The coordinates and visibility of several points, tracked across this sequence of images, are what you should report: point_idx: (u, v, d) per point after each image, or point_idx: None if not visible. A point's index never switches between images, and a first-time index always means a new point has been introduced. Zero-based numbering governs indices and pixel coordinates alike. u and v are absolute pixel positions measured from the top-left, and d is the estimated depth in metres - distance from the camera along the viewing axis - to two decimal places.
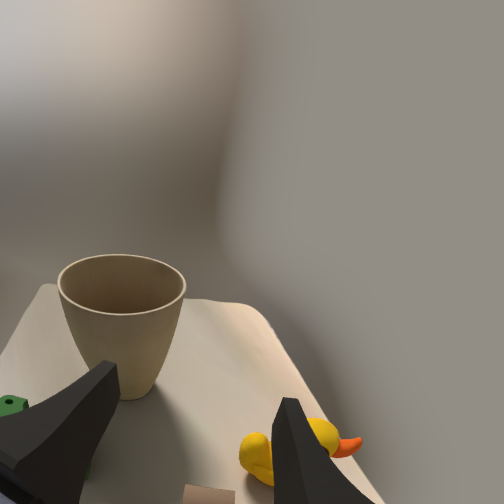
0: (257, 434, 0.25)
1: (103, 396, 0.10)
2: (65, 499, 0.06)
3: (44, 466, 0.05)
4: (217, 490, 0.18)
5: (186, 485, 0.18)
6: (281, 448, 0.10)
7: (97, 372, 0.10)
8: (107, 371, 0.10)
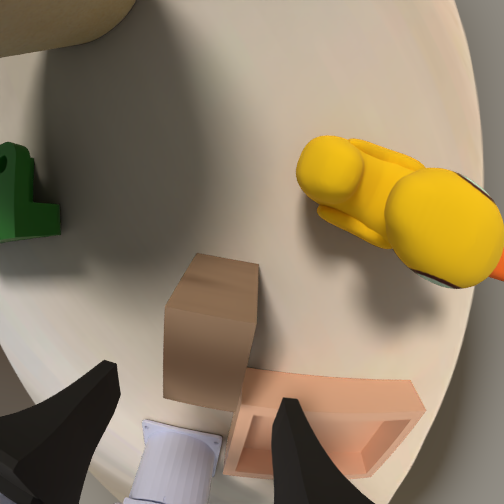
0: (342, 160, 0.11)
1: (103, 396, 0.10)
2: (65, 499, 0.06)
3: (44, 466, 0.05)
4: (223, 321, 0.13)
5: (167, 309, 0.13)
6: (281, 447, 0.10)
7: (97, 372, 0.10)
8: (107, 371, 0.10)
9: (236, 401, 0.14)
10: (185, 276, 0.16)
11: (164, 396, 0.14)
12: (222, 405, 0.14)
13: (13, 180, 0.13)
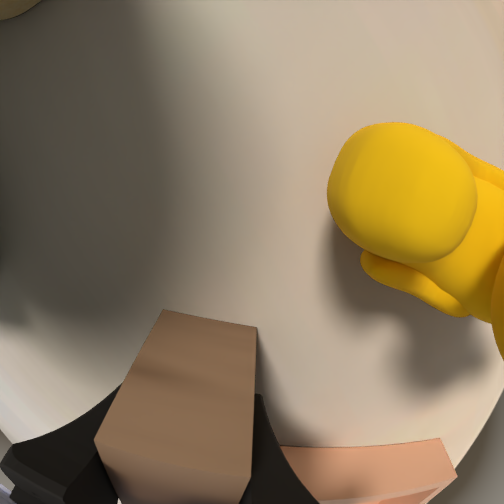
0: (450, 181, 0.04)
1: None
2: None
3: (88, 487, 0.05)
4: (192, 471, 0.06)
5: (98, 444, 0.06)
6: None
7: None
8: None
9: None
10: (136, 365, 0.09)
11: None
12: None
13: None
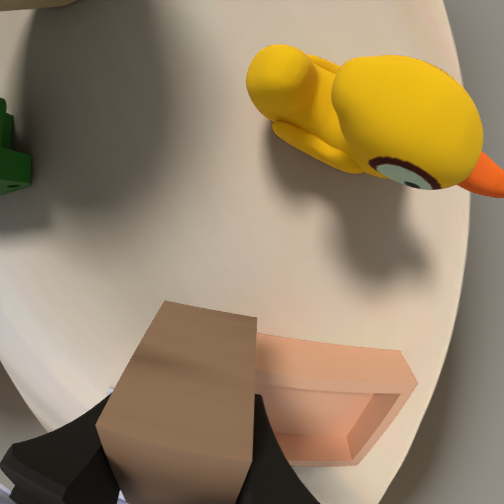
0: (284, 56, 0.09)
1: None
2: None
3: (88, 487, 0.05)
4: (193, 456, 0.06)
5: (100, 429, 0.06)
6: None
7: None
8: None
9: None
10: (138, 353, 0.09)
11: (127, 502, 0.08)
12: None
13: None
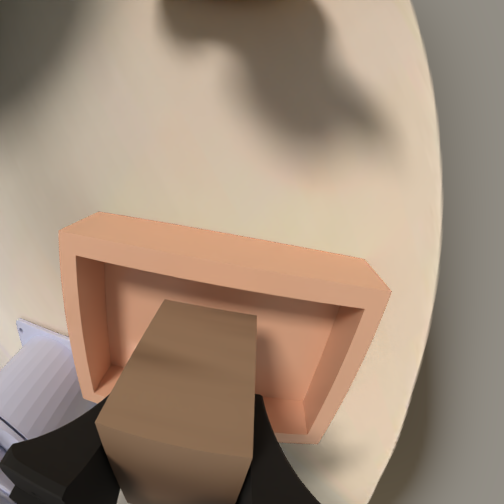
0: None
1: None
2: None
3: (88, 487, 0.05)
4: (193, 453, 0.06)
5: (99, 426, 0.06)
6: None
7: None
8: None
9: None
10: (138, 350, 0.09)
11: (128, 501, 0.08)
12: None
13: None
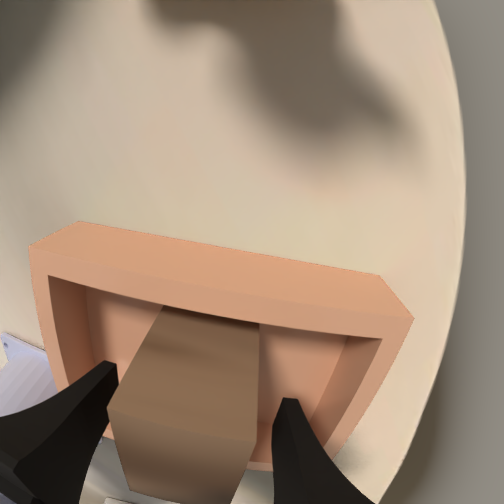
0: None
1: (103, 396, 0.10)
2: (65, 499, 0.06)
3: (44, 466, 0.05)
4: (201, 437, 0.07)
5: (111, 412, 0.06)
6: (281, 448, 0.10)
7: (97, 372, 0.10)
8: (107, 371, 0.10)
9: None
10: (147, 340, 0.10)
11: (131, 489, 0.08)
12: None
13: None
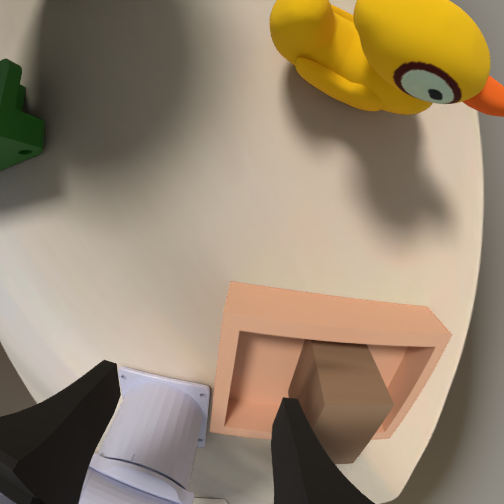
0: None
1: (103, 396, 0.10)
2: (65, 499, 0.06)
3: (44, 466, 0.05)
4: (370, 408, 0.13)
5: (326, 407, 0.13)
6: (280, 448, 0.10)
7: (97, 372, 0.10)
8: (107, 371, 0.10)
9: (357, 456, 0.15)
10: (318, 363, 0.16)
11: None
12: (344, 460, 0.15)
13: (3, 87, 0.11)
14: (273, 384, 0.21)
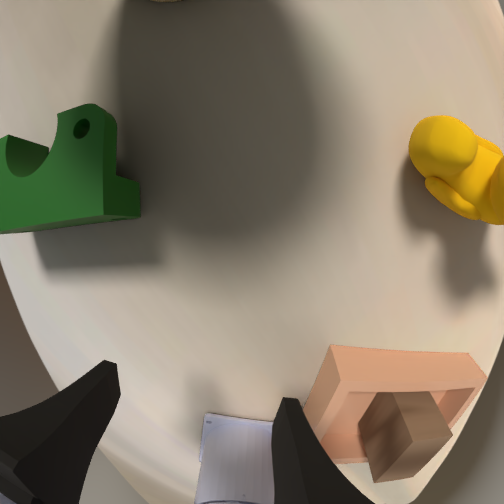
0: (468, 136, 0.10)
1: (103, 396, 0.10)
2: (65, 499, 0.06)
3: (44, 466, 0.05)
4: (438, 439, 0.15)
5: (413, 442, 0.15)
6: (281, 448, 0.10)
7: (97, 372, 0.10)
8: (107, 371, 0.10)
9: (417, 471, 0.16)
10: (401, 408, 0.18)
11: (375, 482, 0.17)
12: (408, 475, 0.17)
13: (100, 147, 0.13)
14: (347, 420, 0.23)
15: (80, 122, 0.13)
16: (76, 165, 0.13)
